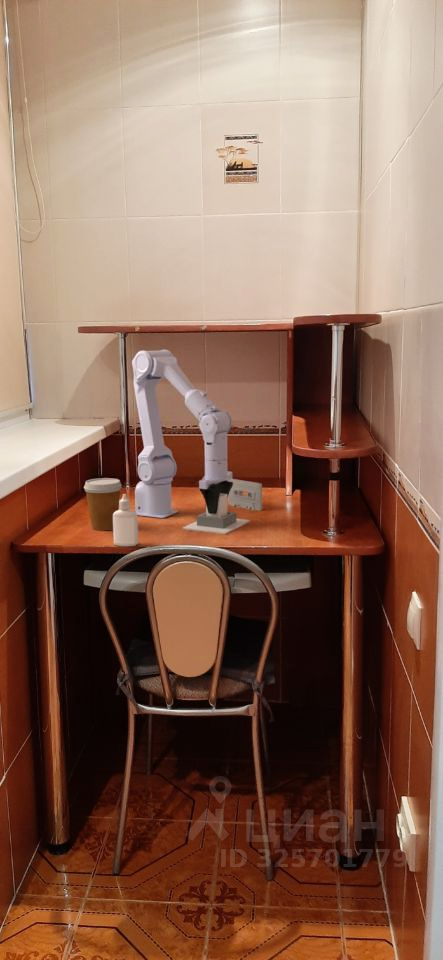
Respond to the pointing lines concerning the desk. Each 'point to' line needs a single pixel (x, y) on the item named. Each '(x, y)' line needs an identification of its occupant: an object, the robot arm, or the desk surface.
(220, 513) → the block
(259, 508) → the cassette
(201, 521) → the socket dock
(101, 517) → the disposable coffee cup
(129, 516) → the eye dropper bottle
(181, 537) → the desk surface
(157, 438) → the robot arm
